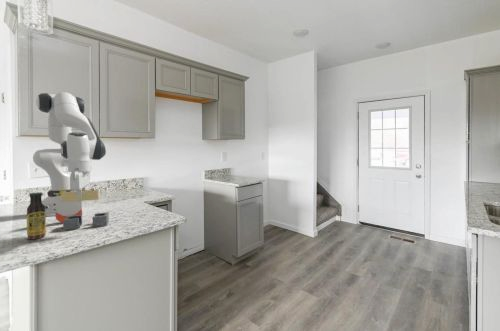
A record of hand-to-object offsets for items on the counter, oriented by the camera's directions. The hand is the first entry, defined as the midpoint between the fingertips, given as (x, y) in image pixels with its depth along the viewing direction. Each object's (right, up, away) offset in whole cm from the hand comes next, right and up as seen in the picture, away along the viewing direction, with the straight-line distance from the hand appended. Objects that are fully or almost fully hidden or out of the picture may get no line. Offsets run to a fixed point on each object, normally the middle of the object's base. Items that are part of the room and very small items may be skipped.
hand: (81, 196), depth 115 cm
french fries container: (-17, -16, +16) cm, 29 cm away
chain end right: (+2, -16, +11) cm, 20 cm away
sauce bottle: (-15, -17, -7) cm, 24 cm away
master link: (0, -2, 0) cm, 2 cm away
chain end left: (-9, -16, +7) cm, 19 cm away
